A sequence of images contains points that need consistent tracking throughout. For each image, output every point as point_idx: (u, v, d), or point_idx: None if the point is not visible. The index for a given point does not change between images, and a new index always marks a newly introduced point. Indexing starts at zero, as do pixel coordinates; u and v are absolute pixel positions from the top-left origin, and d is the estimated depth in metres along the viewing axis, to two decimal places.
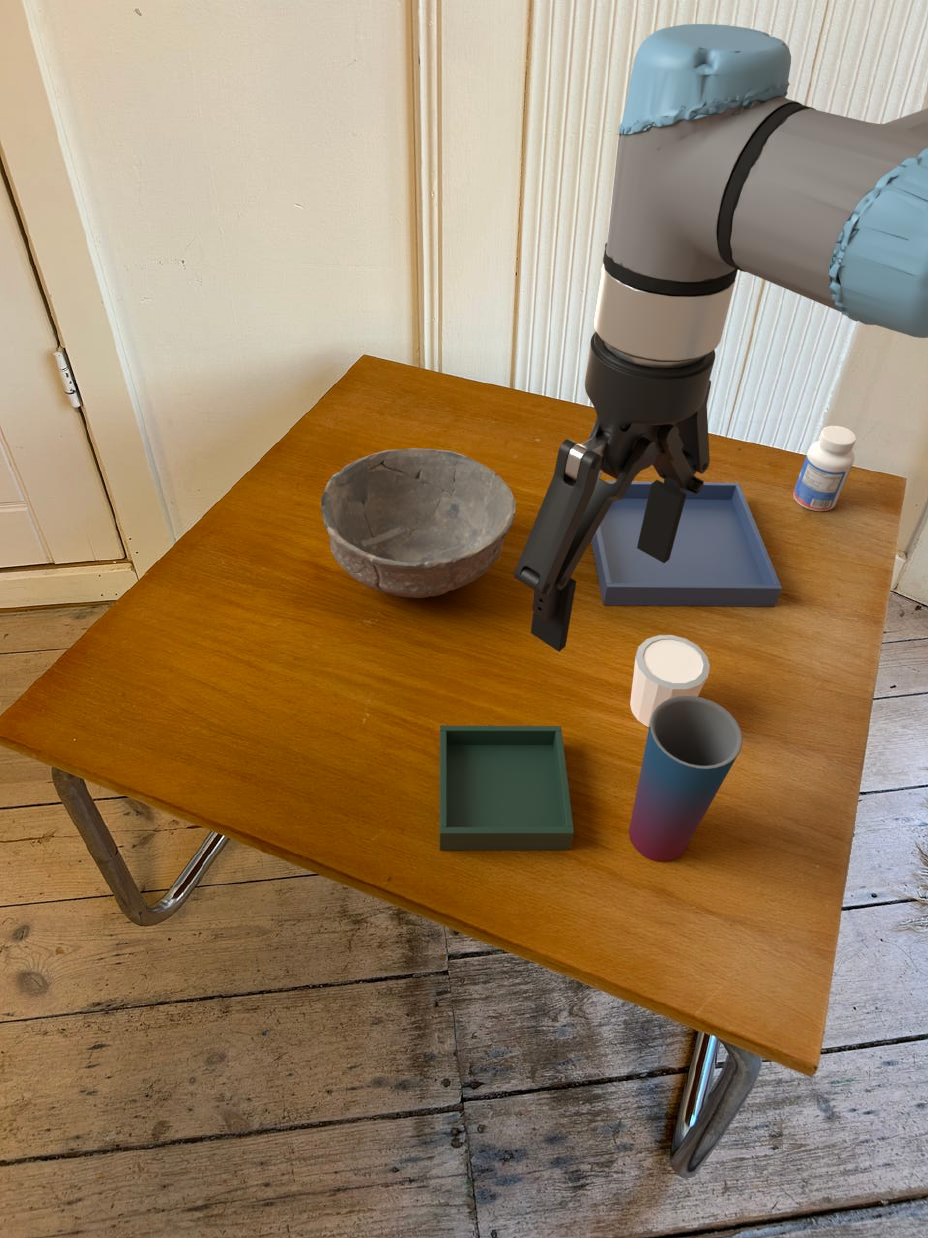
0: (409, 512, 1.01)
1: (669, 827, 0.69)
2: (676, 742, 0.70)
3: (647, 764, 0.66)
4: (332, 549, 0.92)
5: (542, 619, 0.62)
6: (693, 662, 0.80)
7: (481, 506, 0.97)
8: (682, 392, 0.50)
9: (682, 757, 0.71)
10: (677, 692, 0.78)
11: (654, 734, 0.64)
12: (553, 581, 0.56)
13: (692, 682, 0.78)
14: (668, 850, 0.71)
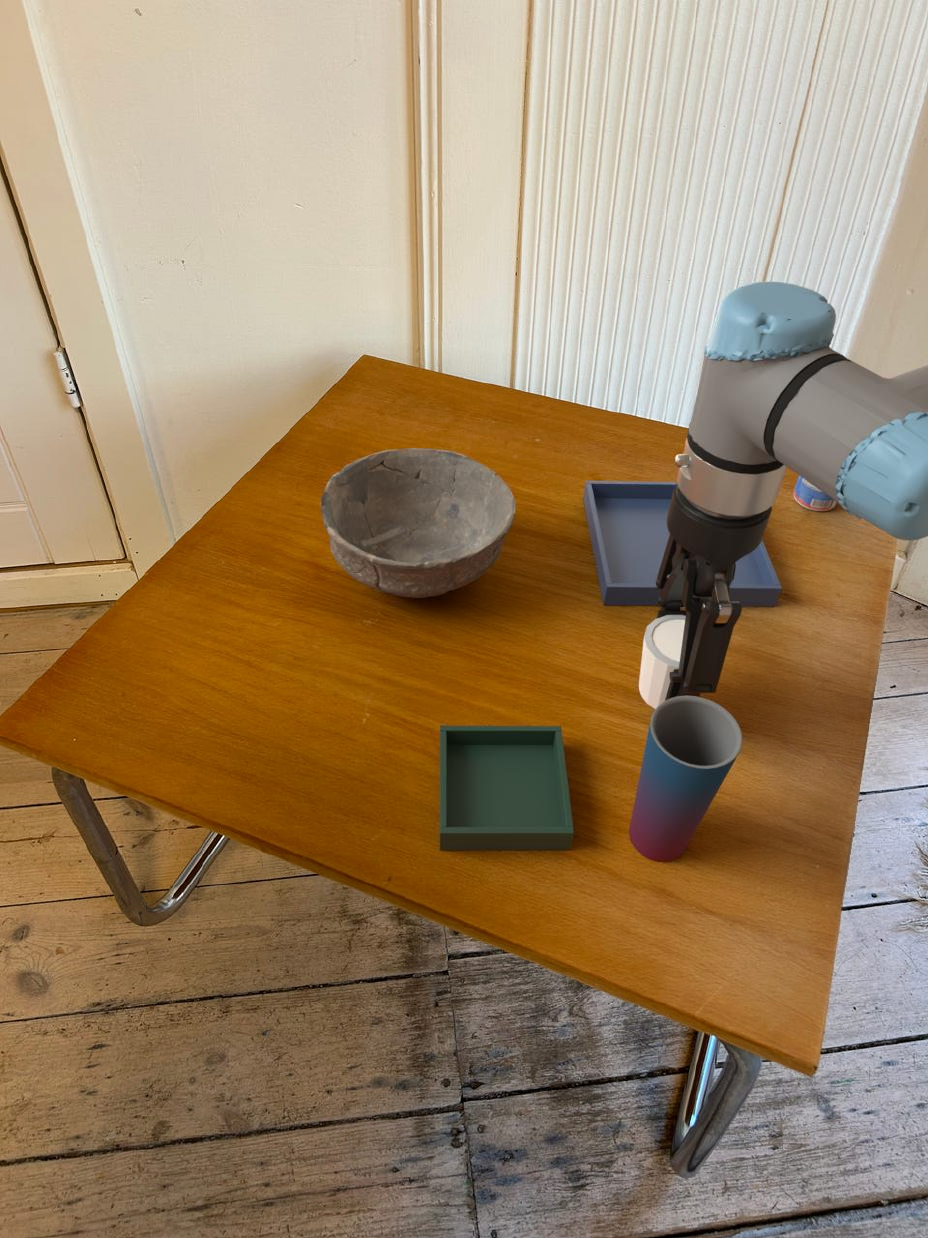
0: (409, 512, 1.01)
1: (669, 827, 0.69)
2: (676, 742, 0.70)
3: (647, 764, 0.66)
4: (332, 549, 0.92)
5: None
6: None
7: (481, 506, 0.97)
8: None
9: (682, 757, 0.71)
10: None
11: (654, 734, 0.64)
12: None
13: None
14: (668, 850, 0.71)
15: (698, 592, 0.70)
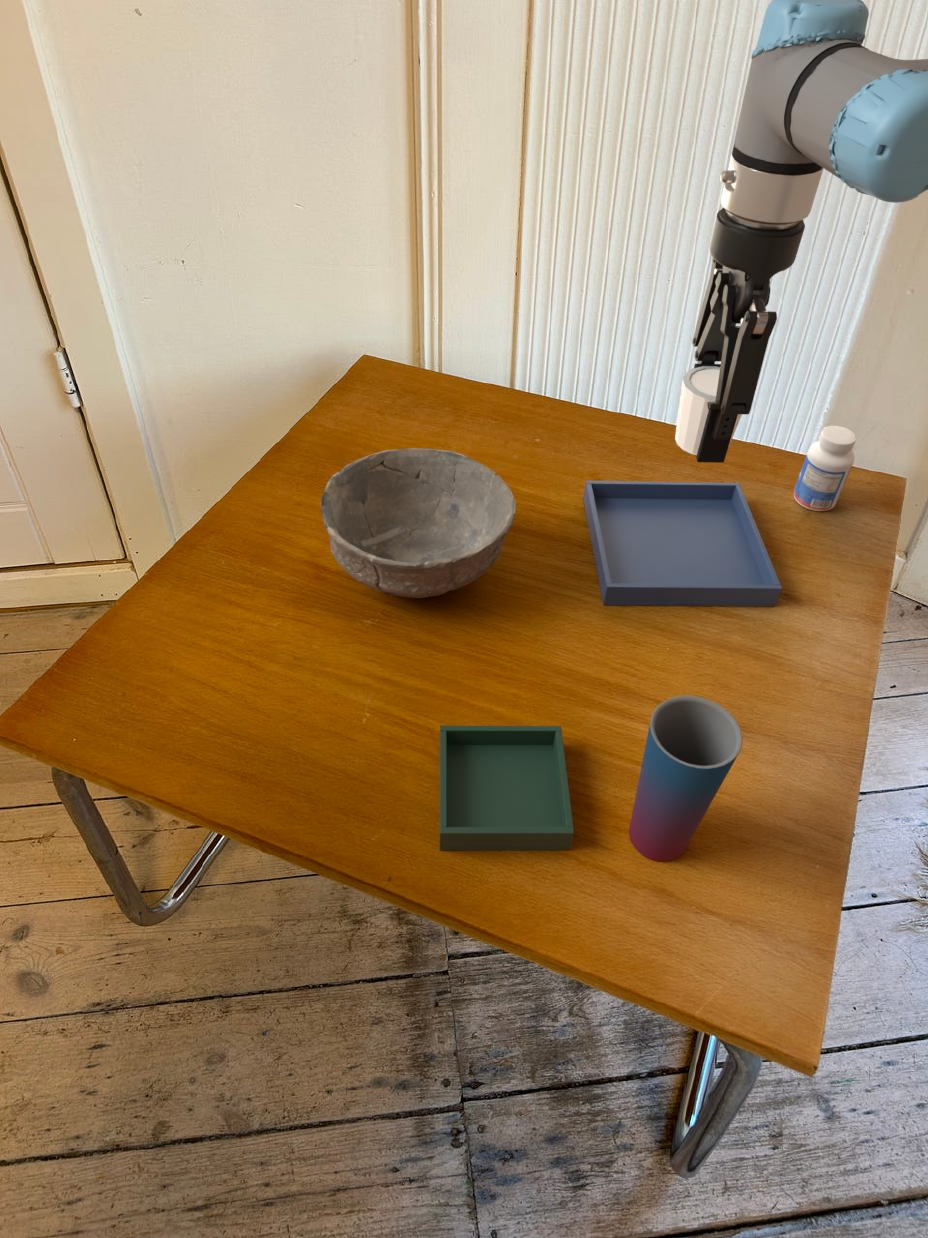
0: (409, 512, 1.01)
1: (669, 827, 0.69)
2: (676, 742, 0.70)
3: (647, 764, 0.66)
4: (332, 549, 0.92)
5: (710, 445, 0.86)
6: None
7: (481, 506, 0.97)
8: None
9: (682, 757, 0.71)
10: None
11: (654, 734, 0.64)
12: None
13: None
14: (668, 850, 0.71)
15: (736, 315, 0.78)
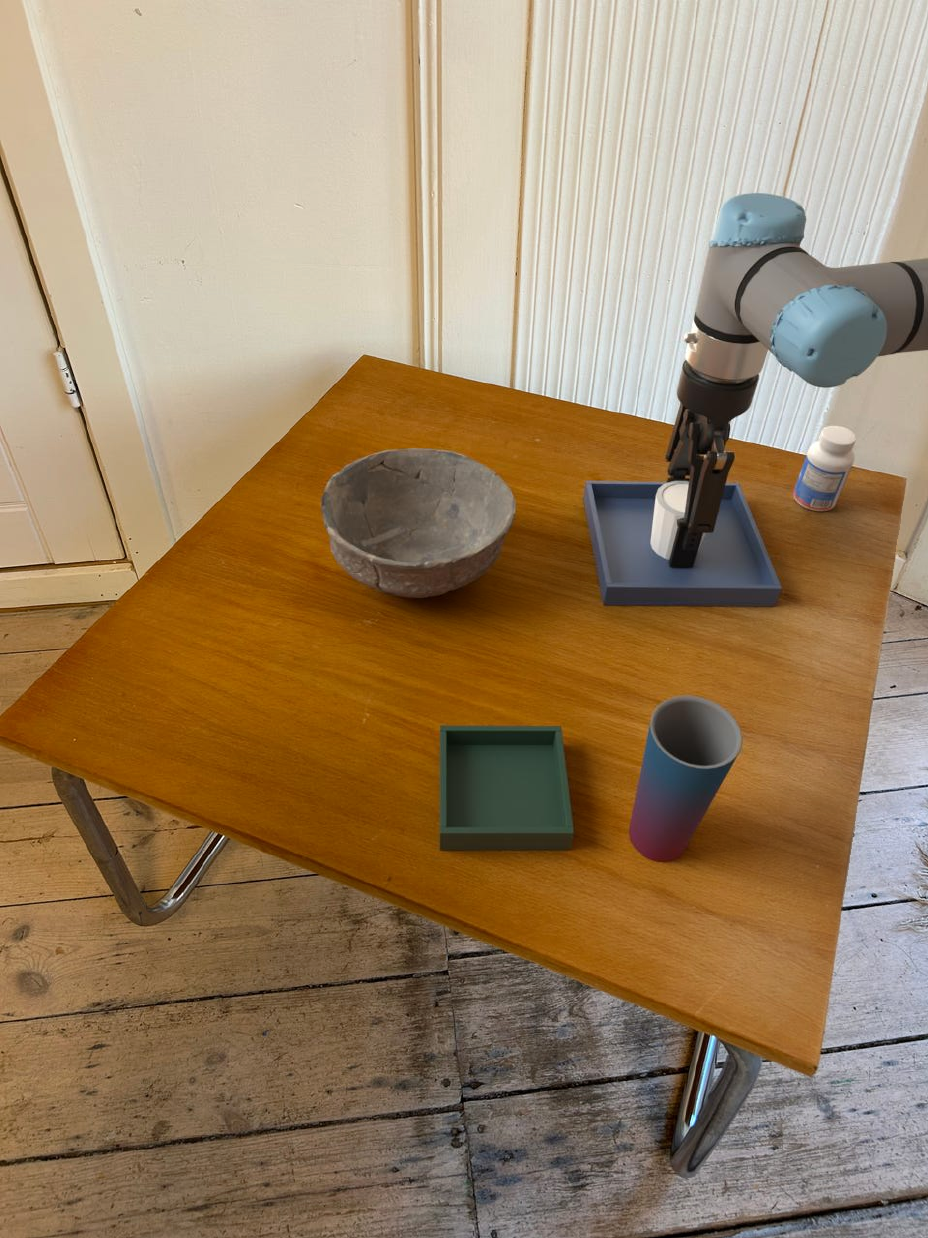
0: (409, 512, 1.01)
1: (669, 827, 0.69)
2: (676, 742, 0.70)
3: (647, 764, 0.66)
4: (332, 549, 0.92)
5: (681, 553, 0.97)
6: None
7: (481, 506, 0.97)
8: (755, 388, 0.85)
9: (682, 757, 0.71)
10: None
11: (654, 734, 0.64)
12: None
13: None
14: (668, 850, 0.71)
15: (700, 449, 0.89)
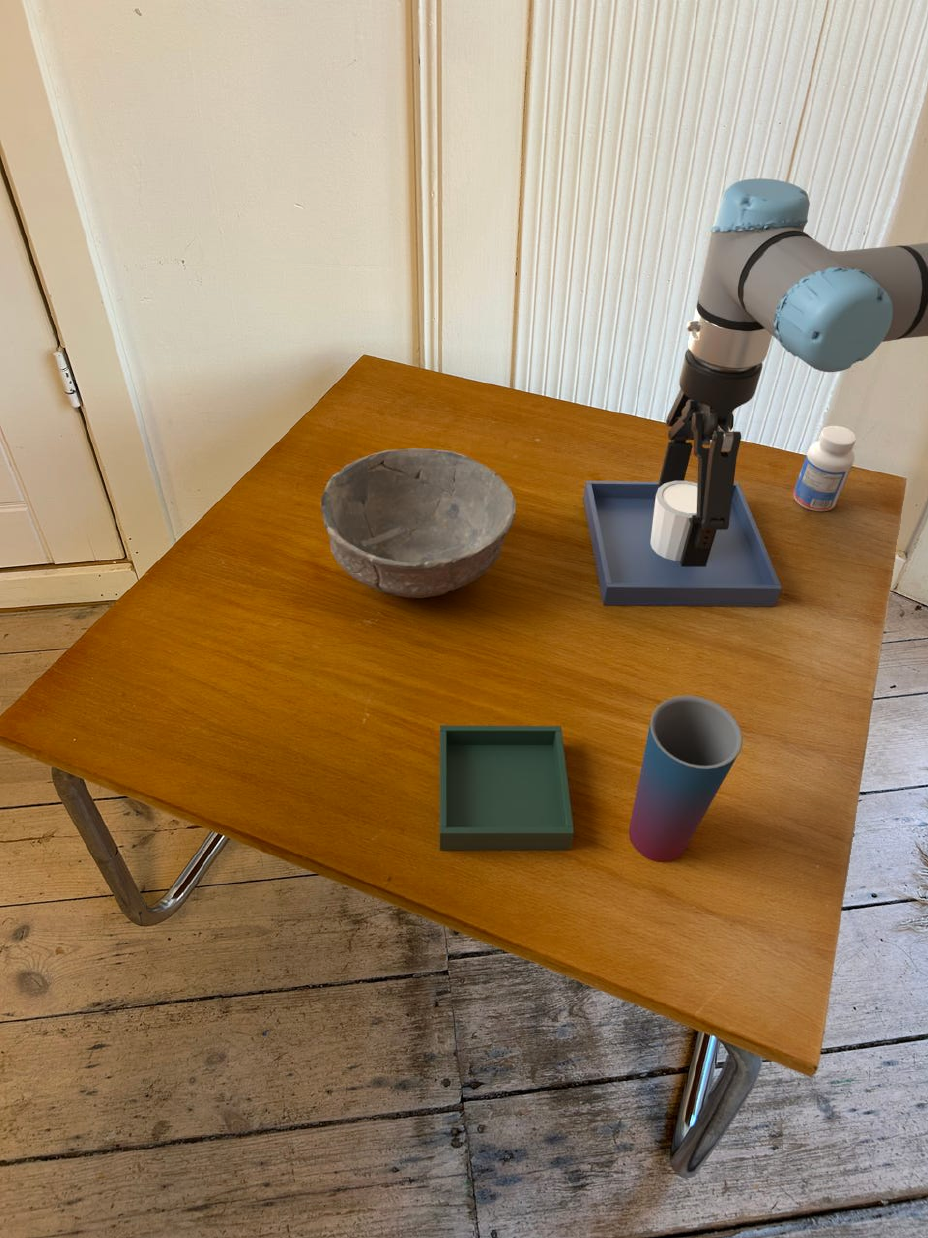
0: (409, 512, 1.01)
1: (669, 827, 0.69)
2: (676, 742, 0.70)
3: (647, 764, 0.66)
4: (332, 549, 0.92)
5: (693, 552, 0.92)
6: None
7: (481, 506, 0.97)
8: None
9: (682, 757, 0.71)
10: None
11: (654, 734, 0.64)
12: None
13: None
14: (668, 850, 0.71)
15: (703, 439, 0.88)
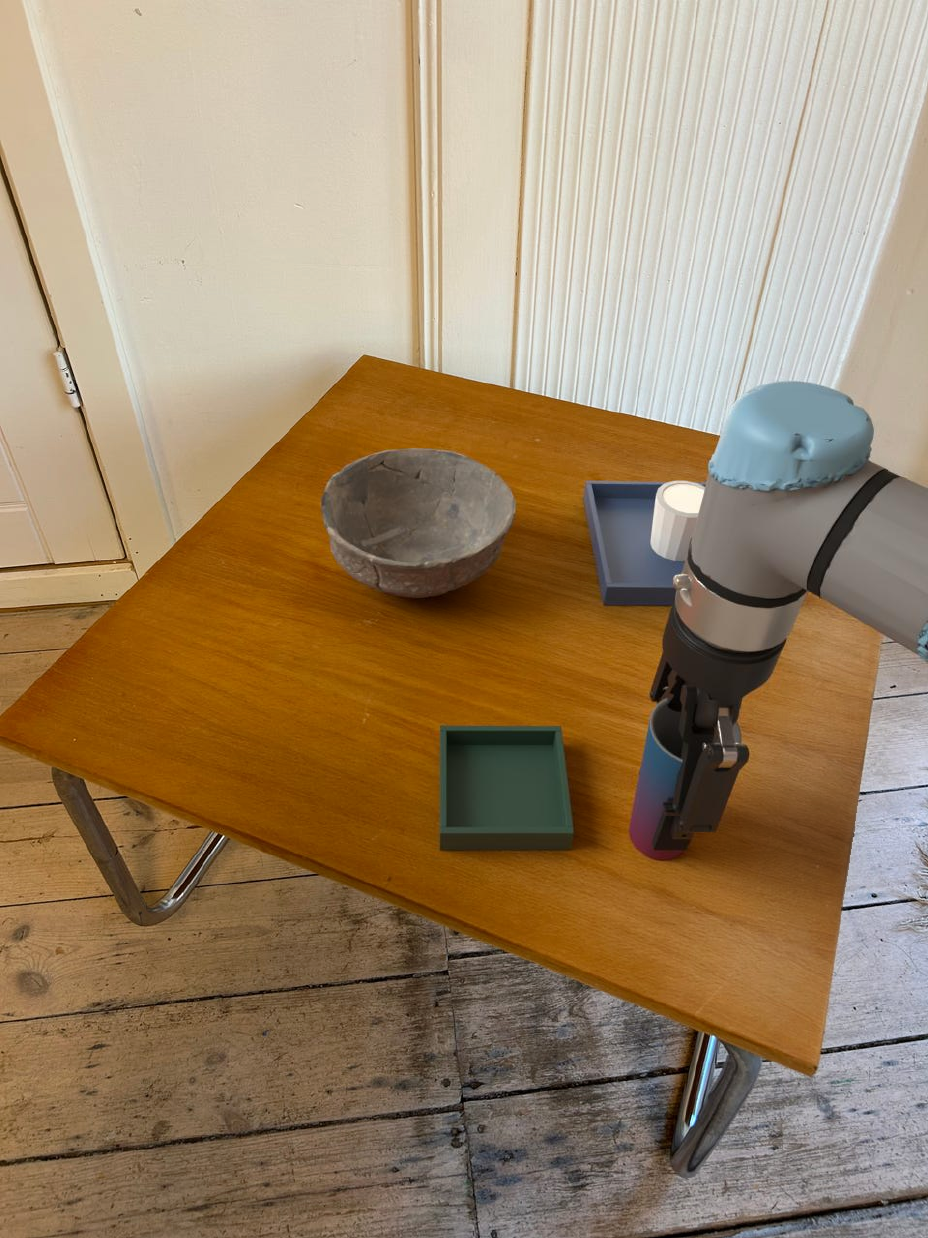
0: (409, 512, 1.01)
1: None
2: (676, 740, 0.70)
3: (646, 763, 0.66)
4: (332, 549, 0.92)
5: (669, 837, 0.68)
6: None
7: (481, 506, 0.97)
8: None
9: None
10: (691, 520, 0.95)
11: (653, 732, 0.64)
12: None
13: None
14: None
15: (698, 724, 0.59)
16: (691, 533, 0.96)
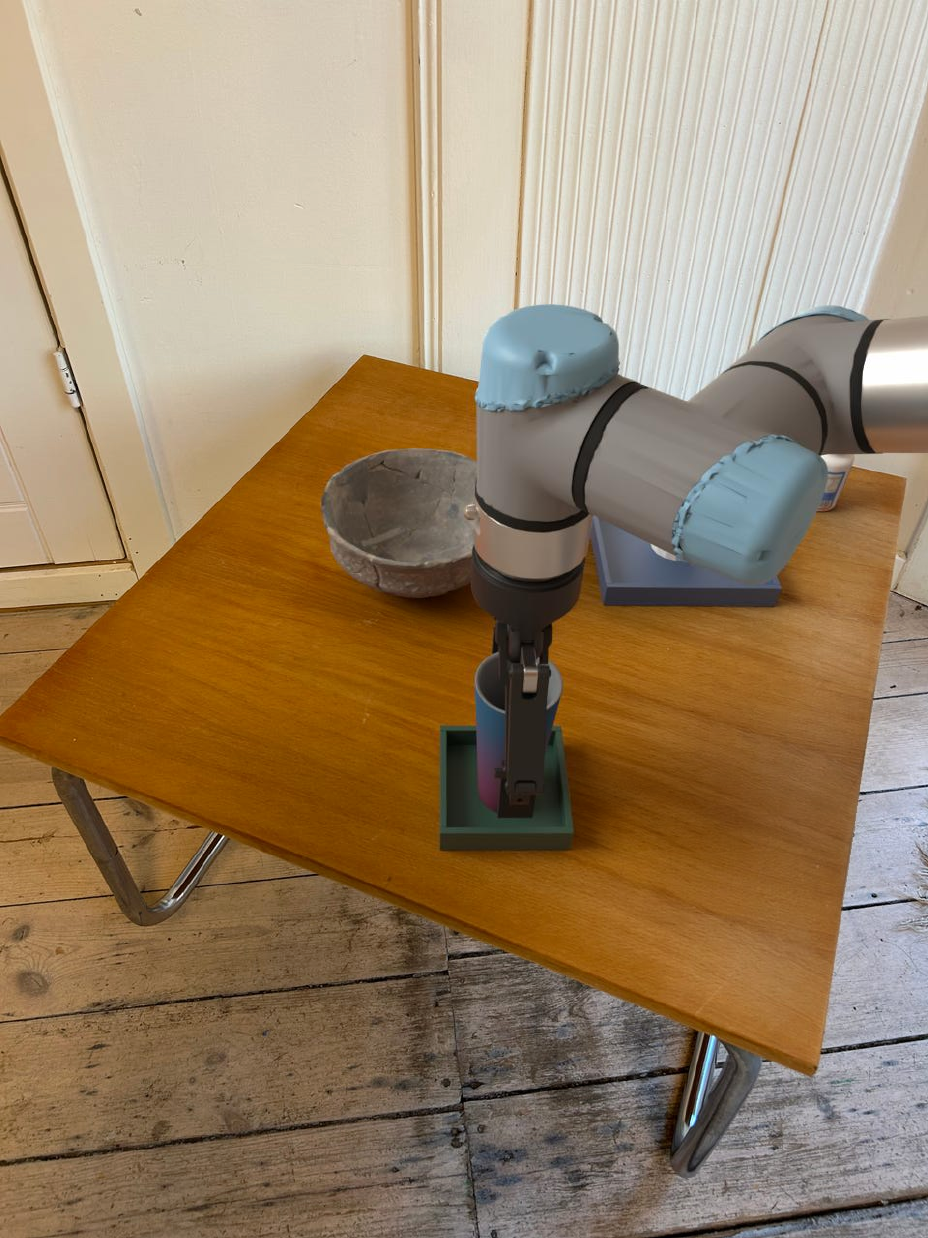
0: (409, 512, 1.01)
1: None
2: None
3: (476, 715, 0.68)
4: (332, 549, 0.92)
5: None
6: None
7: None
8: (580, 581, 0.57)
9: None
10: None
11: (477, 684, 0.66)
12: None
13: None
14: None
15: (510, 659, 0.60)
16: None
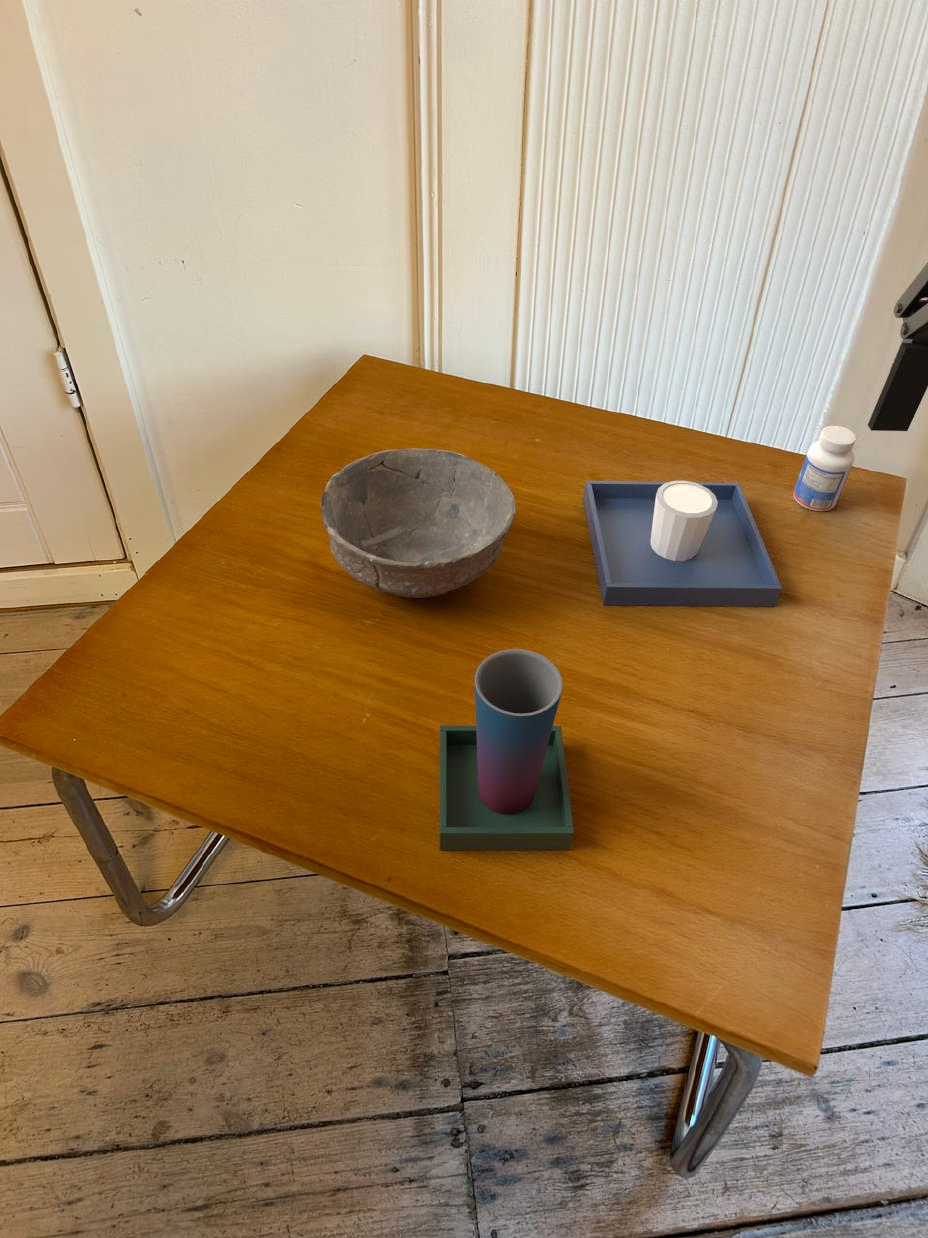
0: (409, 512, 1.01)
1: (504, 778, 0.71)
2: (513, 696, 0.72)
3: (476, 715, 0.68)
4: (332, 549, 0.92)
5: None
6: (704, 499, 0.97)
7: (481, 506, 0.97)
8: None
9: (522, 711, 0.73)
10: (691, 520, 0.95)
11: (477, 684, 0.66)
12: None
13: (703, 513, 0.95)
14: (509, 802, 0.73)
15: None
16: (691, 533, 0.96)
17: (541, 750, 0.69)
